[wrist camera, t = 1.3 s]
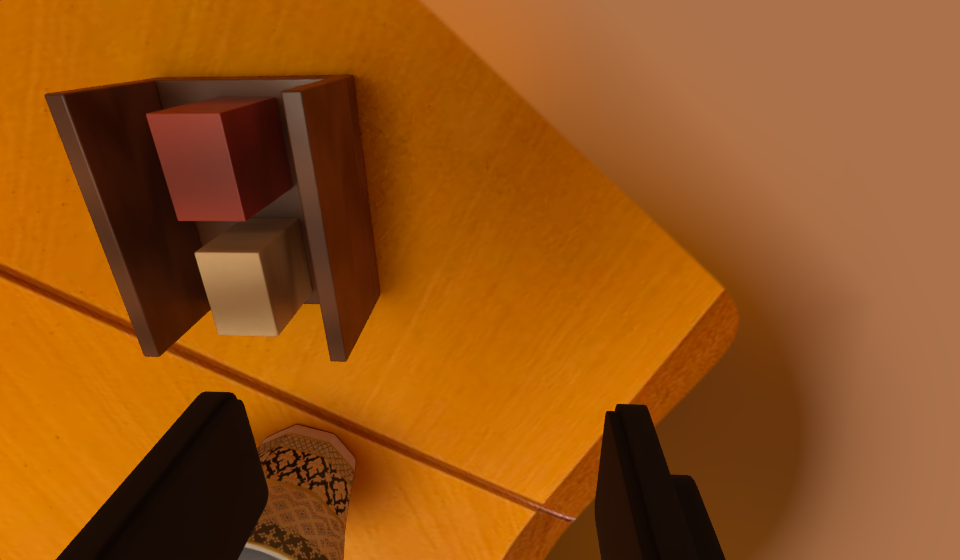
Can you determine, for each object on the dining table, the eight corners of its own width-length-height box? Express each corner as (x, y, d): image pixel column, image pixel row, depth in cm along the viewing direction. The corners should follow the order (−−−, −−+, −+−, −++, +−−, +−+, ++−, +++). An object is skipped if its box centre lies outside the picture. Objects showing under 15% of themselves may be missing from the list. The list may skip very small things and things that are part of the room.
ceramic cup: (391, 426, 34) (346, 568, 25) (366, 521, 39) (321, 669, 30) (200, 377, 33) (83, 505, 24) (197, 479, 38) (98, 619, 29)
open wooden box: (155, 77, 25) (42, 93, 19) (354, 74, 24) (301, 90, 18) (216, 292, 30) (143, 357, 24) (380, 295, 30) (346, 362, 24)
